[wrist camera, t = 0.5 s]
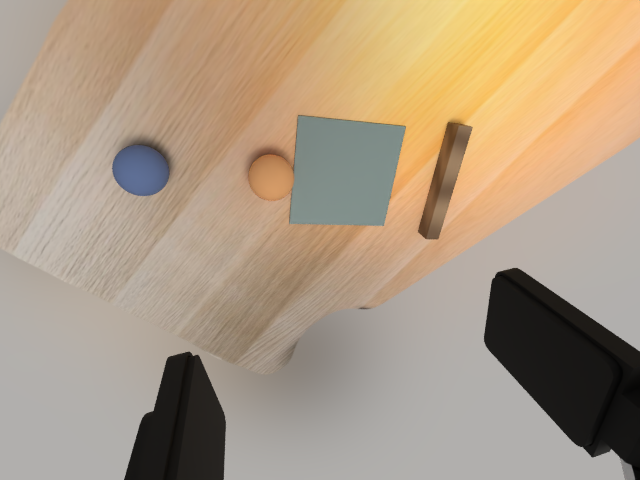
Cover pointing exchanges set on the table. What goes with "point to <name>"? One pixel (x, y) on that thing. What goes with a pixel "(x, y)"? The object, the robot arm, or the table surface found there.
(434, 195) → the rail
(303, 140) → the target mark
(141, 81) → the table surface
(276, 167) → the orange ball
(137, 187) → the blue ball
